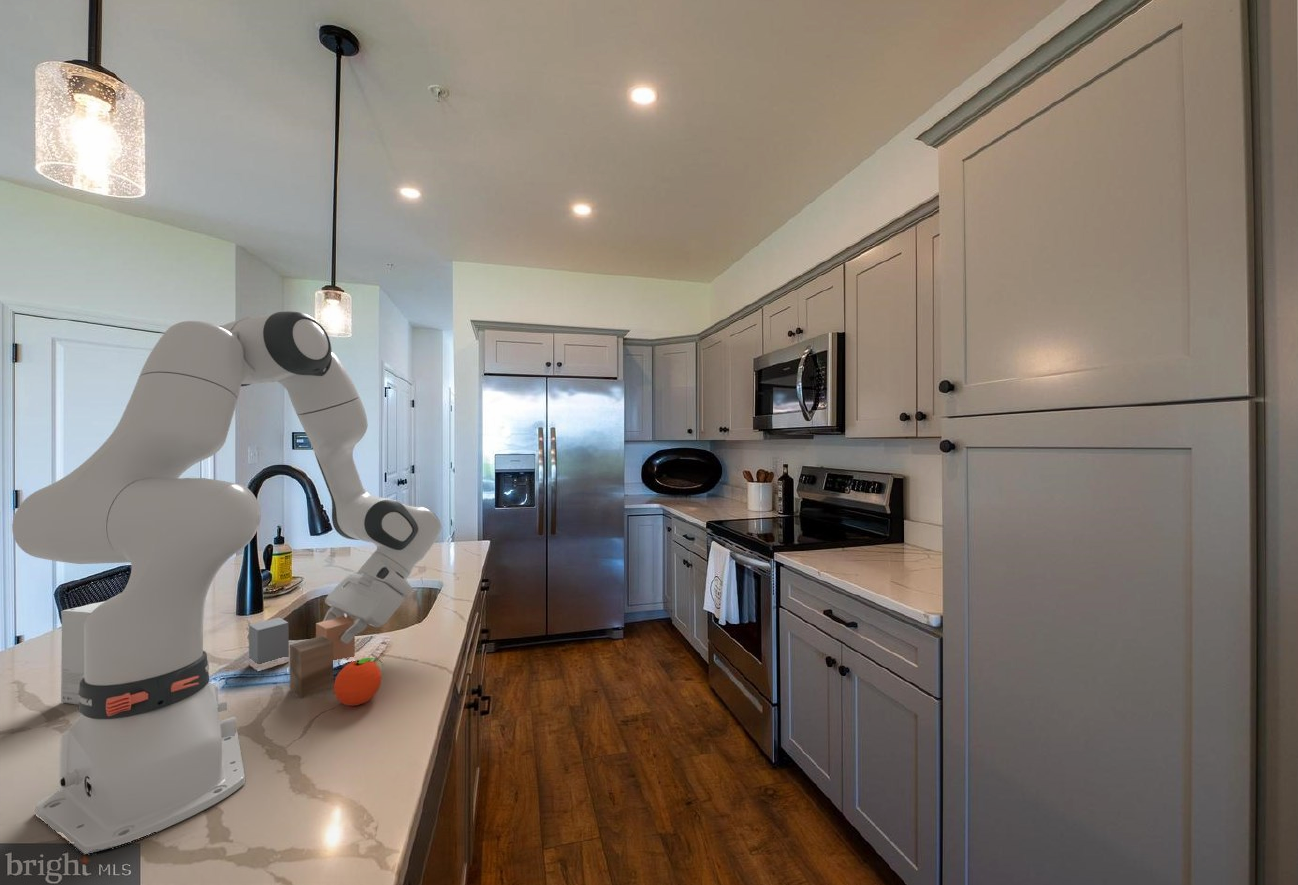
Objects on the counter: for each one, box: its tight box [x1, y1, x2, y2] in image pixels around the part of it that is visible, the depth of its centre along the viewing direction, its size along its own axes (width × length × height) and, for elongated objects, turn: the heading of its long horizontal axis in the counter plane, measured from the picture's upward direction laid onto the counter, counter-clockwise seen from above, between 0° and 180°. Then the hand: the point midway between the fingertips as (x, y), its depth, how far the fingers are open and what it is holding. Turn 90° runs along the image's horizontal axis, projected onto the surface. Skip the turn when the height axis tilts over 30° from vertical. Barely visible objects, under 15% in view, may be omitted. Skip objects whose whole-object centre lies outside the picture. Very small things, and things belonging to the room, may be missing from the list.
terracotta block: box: [315, 615, 356, 660], centre depth 99 cm, size 5×5×8 cm
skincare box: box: [60, 600, 106, 706], centre depth 87 cm, size 8×7×16 cm
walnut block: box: [289, 636, 335, 699], centre depth 88 cm, size 5×5×8 cm
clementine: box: [333, 657, 384, 707], centre depth 84 cm, size 8×7×7 cm
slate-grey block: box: [248, 617, 290, 664], centre depth 98 cm, size 5×5×8 cm
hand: (331, 636), depth 98 cm, fingers open, 8 cm apart
